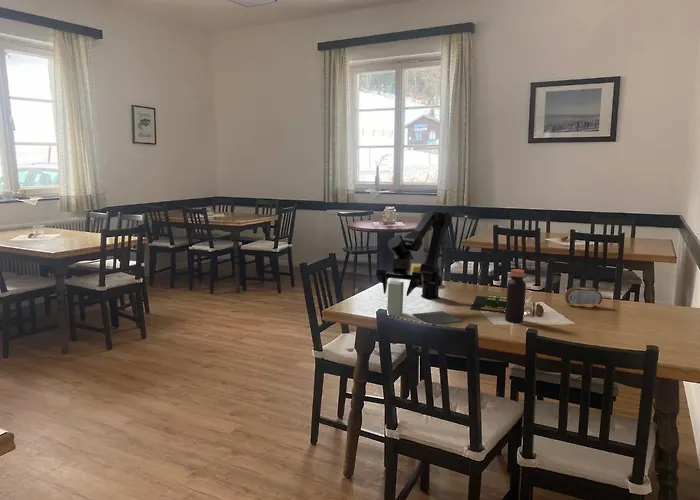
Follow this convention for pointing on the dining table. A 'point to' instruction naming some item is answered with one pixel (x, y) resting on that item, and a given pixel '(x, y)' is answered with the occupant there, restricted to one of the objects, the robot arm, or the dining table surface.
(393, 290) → the block
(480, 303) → the sushi
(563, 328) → the dining table surface
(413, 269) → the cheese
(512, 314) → the bottle
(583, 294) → the tin
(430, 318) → the mat
